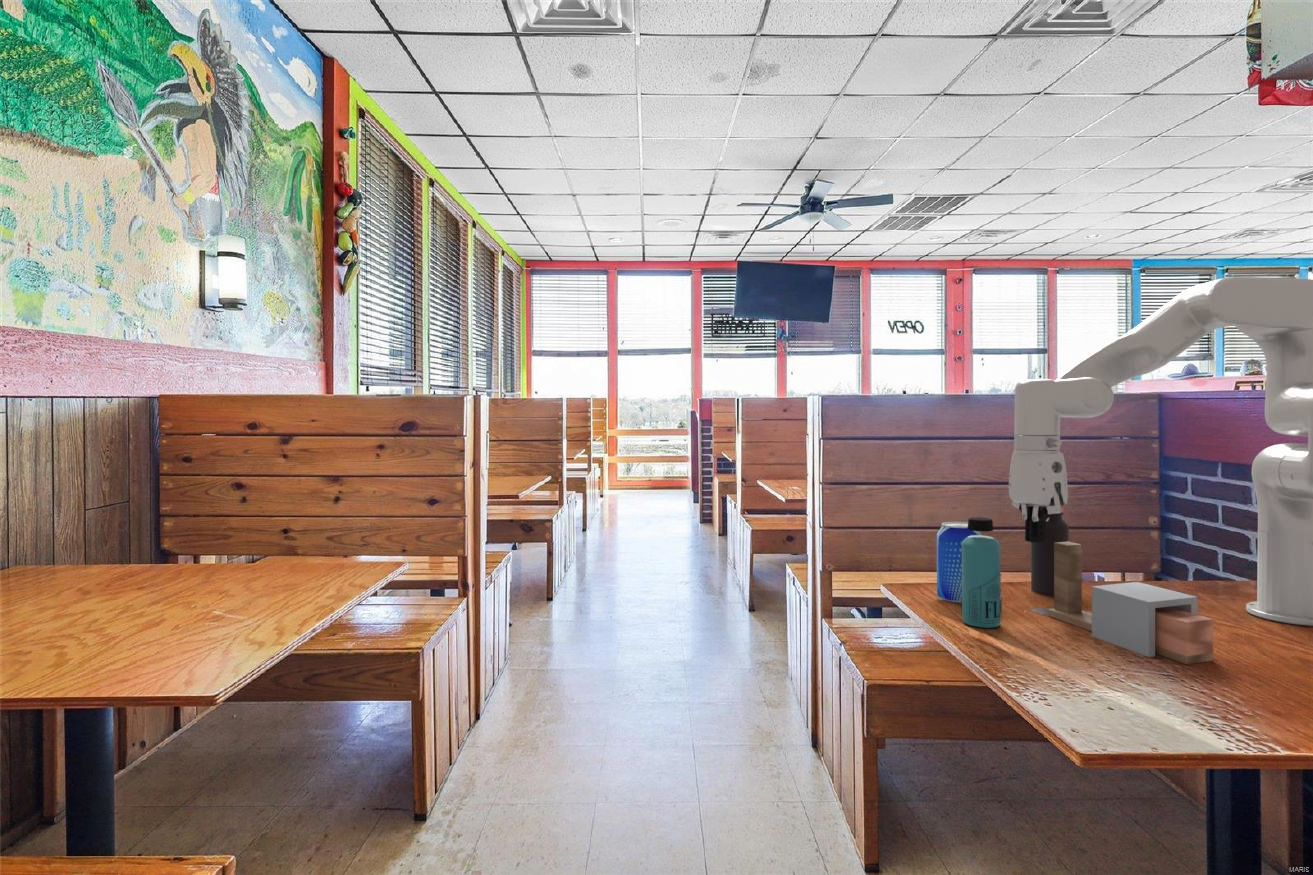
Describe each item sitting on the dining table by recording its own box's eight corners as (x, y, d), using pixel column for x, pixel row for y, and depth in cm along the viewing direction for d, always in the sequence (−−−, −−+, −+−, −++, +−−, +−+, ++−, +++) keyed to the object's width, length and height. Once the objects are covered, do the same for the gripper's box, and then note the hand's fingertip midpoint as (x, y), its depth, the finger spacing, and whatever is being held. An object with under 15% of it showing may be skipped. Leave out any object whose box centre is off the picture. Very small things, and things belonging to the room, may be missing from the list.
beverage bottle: (985, 639, 116) (985, 521, 115) (952, 628, 122) (951, 517, 121) (1010, 632, 119) (1010, 518, 118) (977, 622, 125) (976, 513, 124)
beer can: (937, 606, 136) (936, 526, 135) (937, 596, 143) (936, 520, 143) (984, 610, 133) (983, 528, 132) (981, 599, 140) (980, 521, 140)
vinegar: (1025, 592, 145) (1025, 498, 144) (1060, 593, 144) (1060, 498, 143) (1039, 601, 138) (1038, 502, 137) (1075, 602, 137) (1075, 502, 136)
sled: (1070, 613, 126) (1070, 540, 125) (1212, 660, 101) (1213, 570, 100) (1047, 615, 124) (1047, 542, 124) (1186, 664, 100) (1186, 573, 99)
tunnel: (1137, 632, 115) (1137, 581, 115) (1197, 651, 105) (1197, 596, 105) (1091, 637, 113) (1091, 586, 113) (1148, 658, 103) (1148, 602, 103)
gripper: (1086, 446, 123) (1084, 547, 123) (1023, 443, 137) (1021, 533, 138) (1051, 447, 121) (1050, 550, 121) (991, 443, 135) (990, 535, 136)
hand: (1035, 541), depth 130 cm, fingers closed
